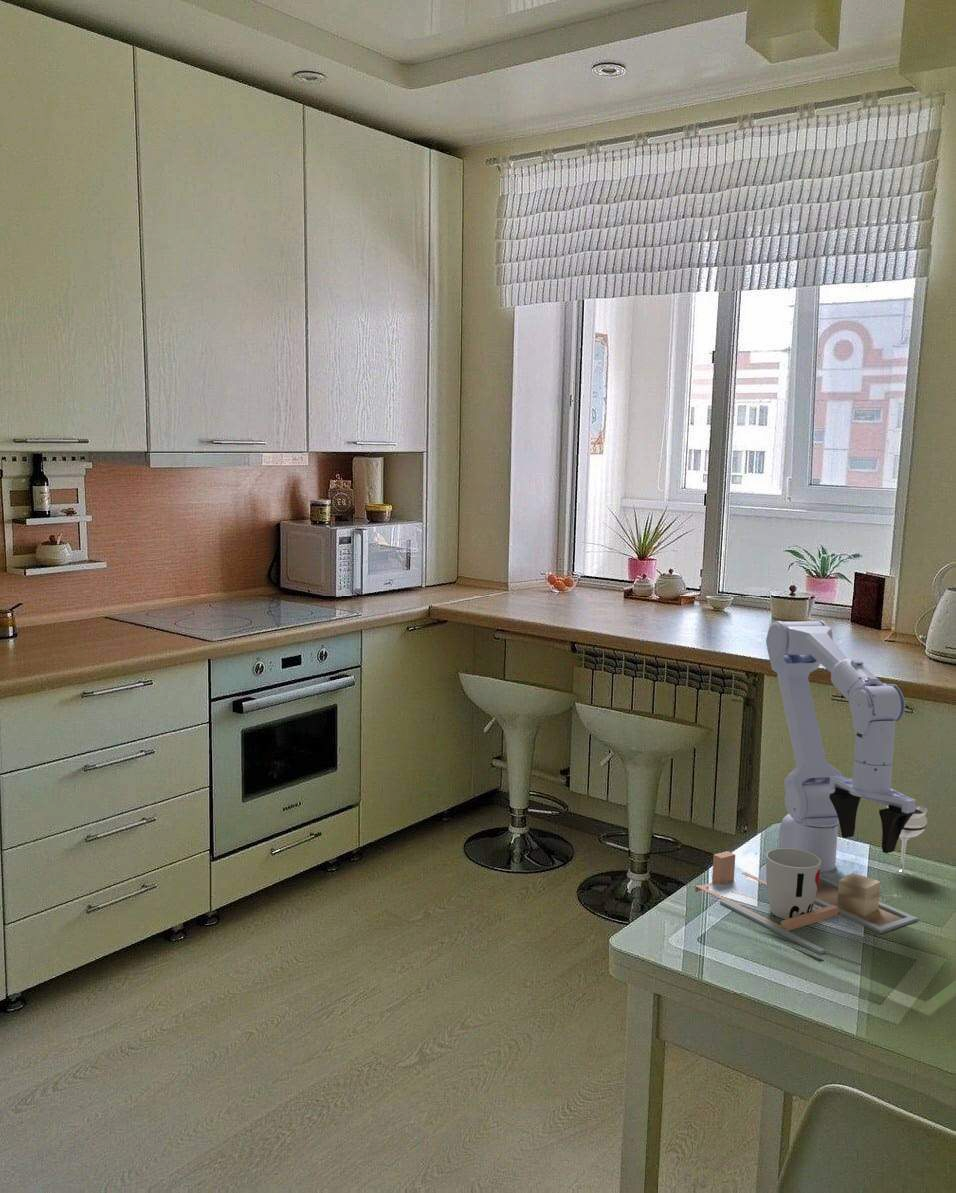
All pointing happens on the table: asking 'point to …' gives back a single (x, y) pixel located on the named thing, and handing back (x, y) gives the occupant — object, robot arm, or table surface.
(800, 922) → the cup sled
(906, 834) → the wineglass
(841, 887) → the beech cube
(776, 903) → the cup
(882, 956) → the table surface
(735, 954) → the table surface
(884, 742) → the robot arm
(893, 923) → the lane frame
